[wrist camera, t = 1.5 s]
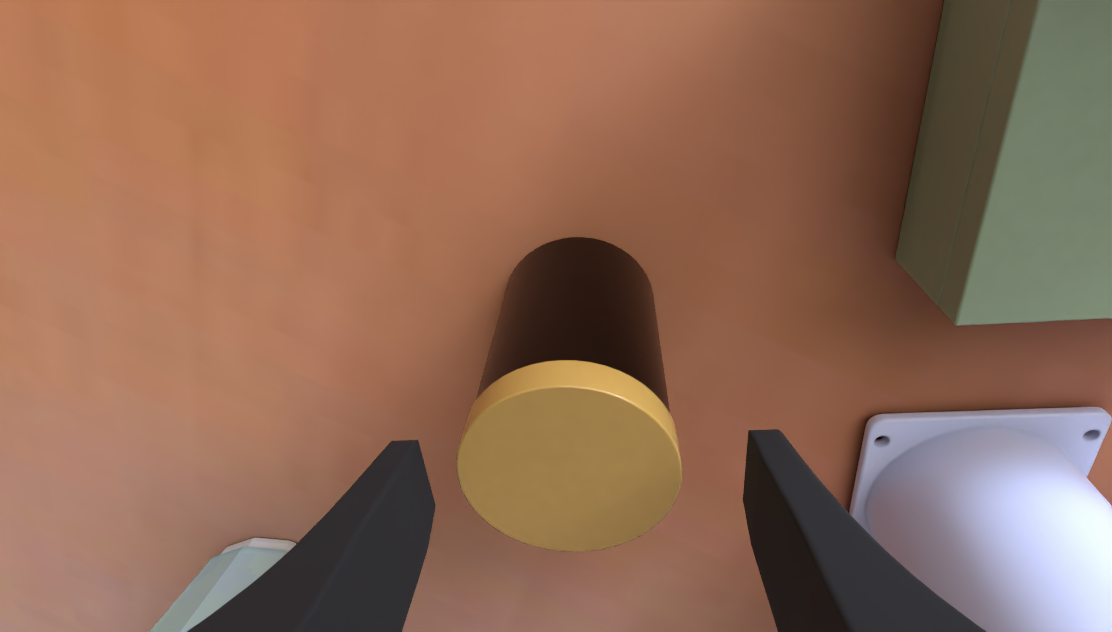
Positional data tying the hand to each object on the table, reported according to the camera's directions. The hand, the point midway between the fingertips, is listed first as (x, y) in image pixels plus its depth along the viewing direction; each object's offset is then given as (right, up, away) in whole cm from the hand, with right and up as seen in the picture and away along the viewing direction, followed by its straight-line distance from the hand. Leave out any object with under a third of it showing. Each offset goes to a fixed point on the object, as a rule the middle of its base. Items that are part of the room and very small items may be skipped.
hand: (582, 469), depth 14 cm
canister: (0, +4, +8) cm, 8 cm away
